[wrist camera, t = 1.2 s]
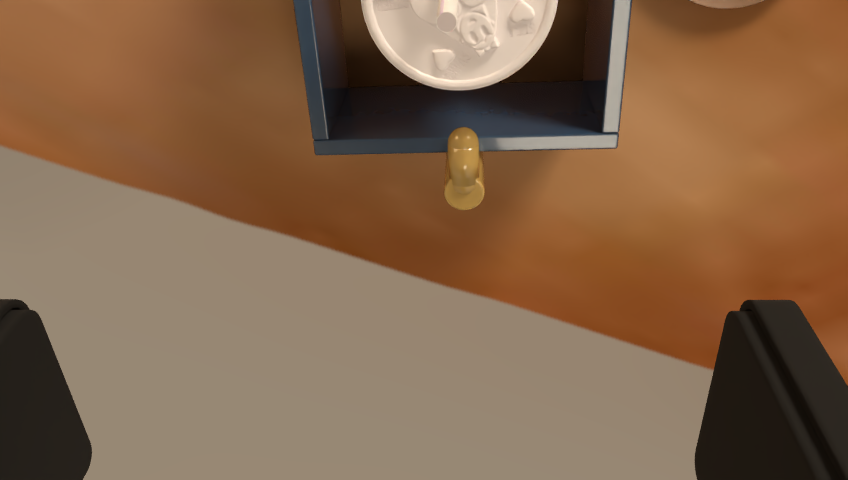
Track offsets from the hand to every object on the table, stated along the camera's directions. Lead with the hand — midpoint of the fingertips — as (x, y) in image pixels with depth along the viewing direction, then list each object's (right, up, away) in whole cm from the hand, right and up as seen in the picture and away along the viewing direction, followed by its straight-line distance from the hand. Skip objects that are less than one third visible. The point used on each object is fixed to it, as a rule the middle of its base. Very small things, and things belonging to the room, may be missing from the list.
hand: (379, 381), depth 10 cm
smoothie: (+2, +15, +21) cm, 26 cm away
